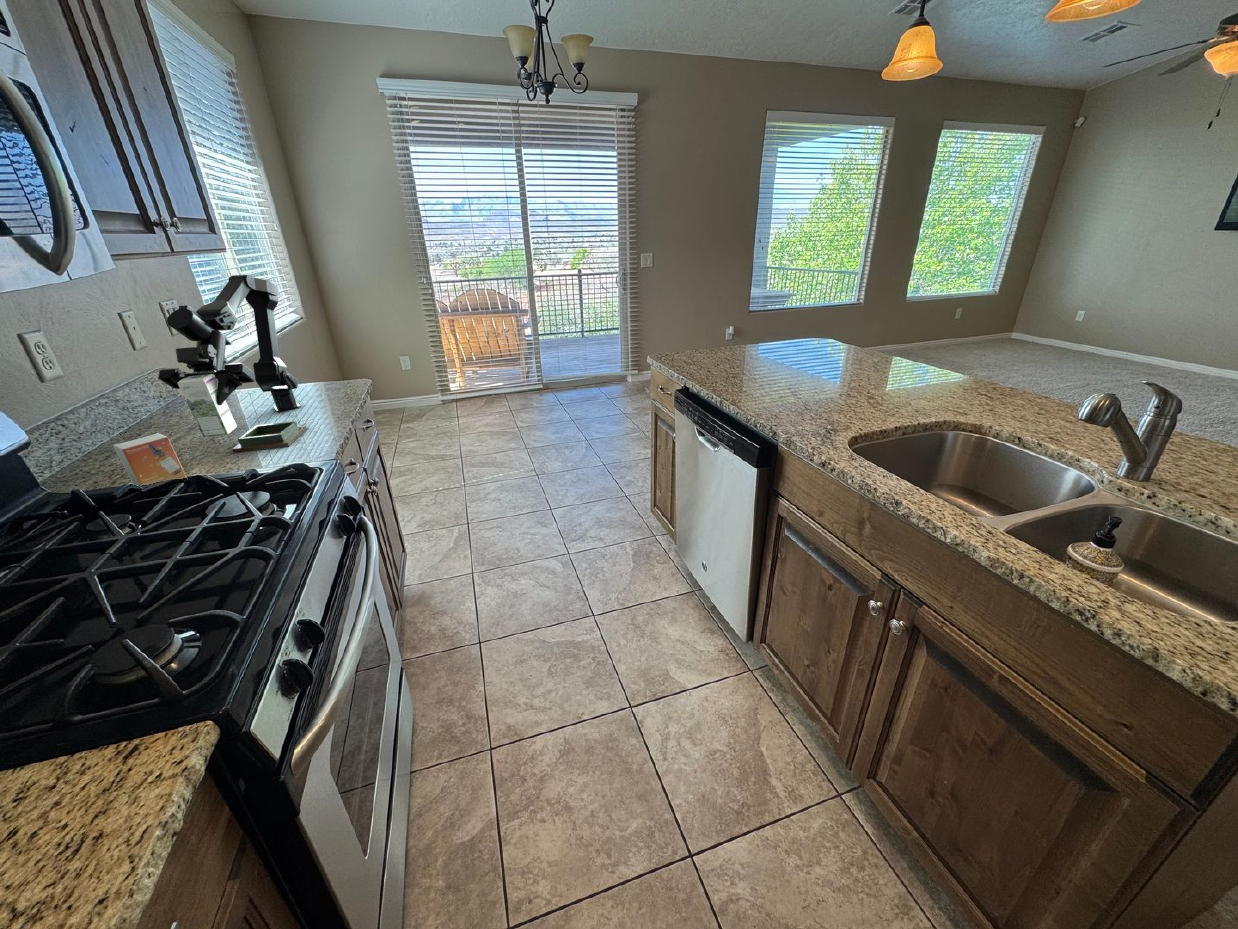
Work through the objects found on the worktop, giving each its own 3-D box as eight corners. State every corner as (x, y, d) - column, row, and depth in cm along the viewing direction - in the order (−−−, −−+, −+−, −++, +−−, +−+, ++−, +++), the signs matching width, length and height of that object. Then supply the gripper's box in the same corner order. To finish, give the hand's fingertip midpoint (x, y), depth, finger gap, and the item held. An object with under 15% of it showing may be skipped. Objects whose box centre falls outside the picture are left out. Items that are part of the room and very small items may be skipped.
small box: (144, 494, 104) (120, 449, 99) (134, 488, 107) (111, 444, 102) (188, 479, 110) (168, 436, 105) (178, 474, 113) (158, 432, 108)
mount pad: (256, 434, 135) (252, 424, 133) (306, 428, 137) (303, 419, 136) (233, 452, 123) (228, 441, 122) (288, 446, 125) (284, 435, 124)
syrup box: (238, 426, 127) (214, 372, 121) (228, 434, 122) (203, 379, 116) (213, 429, 126) (188, 375, 119) (202, 438, 121) (175, 382, 114)
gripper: (143, 336, 115) (135, 394, 110) (230, 329, 118) (226, 386, 113) (178, 361, 126) (171, 415, 121) (257, 354, 129) (254, 407, 124)
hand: (205, 405), depth 119 cm, fingers closed on syrup box, 6 cm apart
